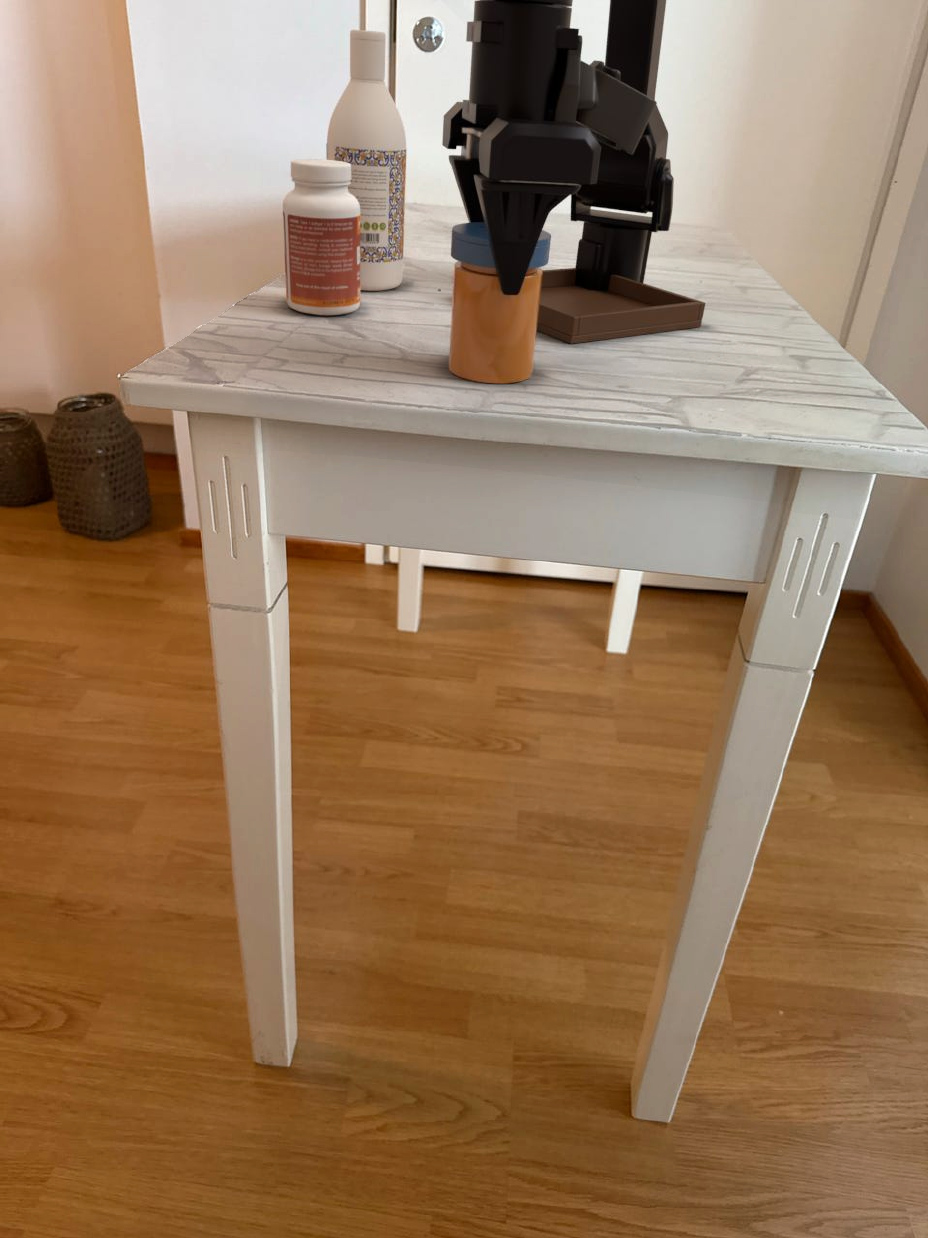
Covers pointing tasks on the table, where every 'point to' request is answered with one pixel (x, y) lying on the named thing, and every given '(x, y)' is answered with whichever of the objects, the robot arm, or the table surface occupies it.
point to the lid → (476, 249)
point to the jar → (493, 325)
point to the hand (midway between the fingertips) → (500, 282)
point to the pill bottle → (322, 239)
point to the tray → (610, 309)
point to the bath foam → (372, 160)
